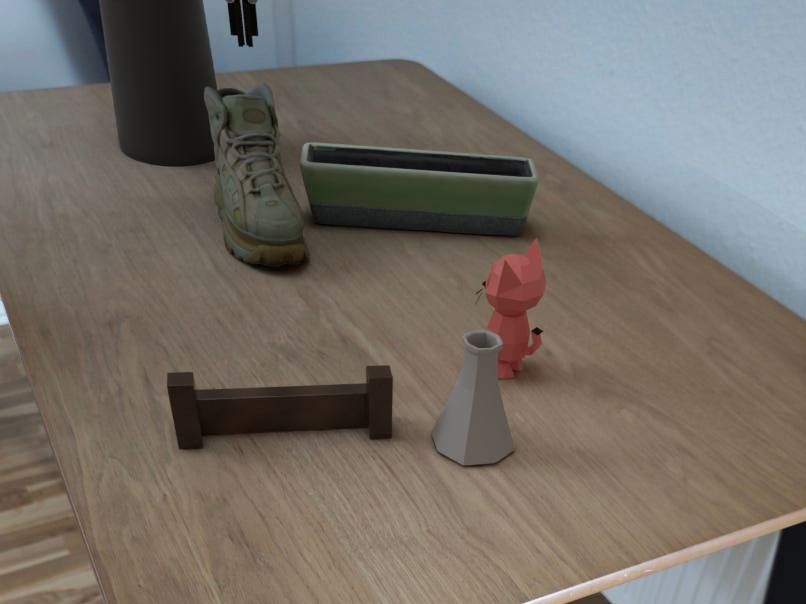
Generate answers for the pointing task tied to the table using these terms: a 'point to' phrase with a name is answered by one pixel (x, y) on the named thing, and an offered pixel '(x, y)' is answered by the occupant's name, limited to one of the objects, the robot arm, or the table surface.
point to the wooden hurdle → (280, 407)
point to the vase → (160, 79)
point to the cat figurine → (515, 306)
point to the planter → (417, 188)
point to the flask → (475, 407)
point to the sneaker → (253, 179)
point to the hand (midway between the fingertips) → (245, 43)
